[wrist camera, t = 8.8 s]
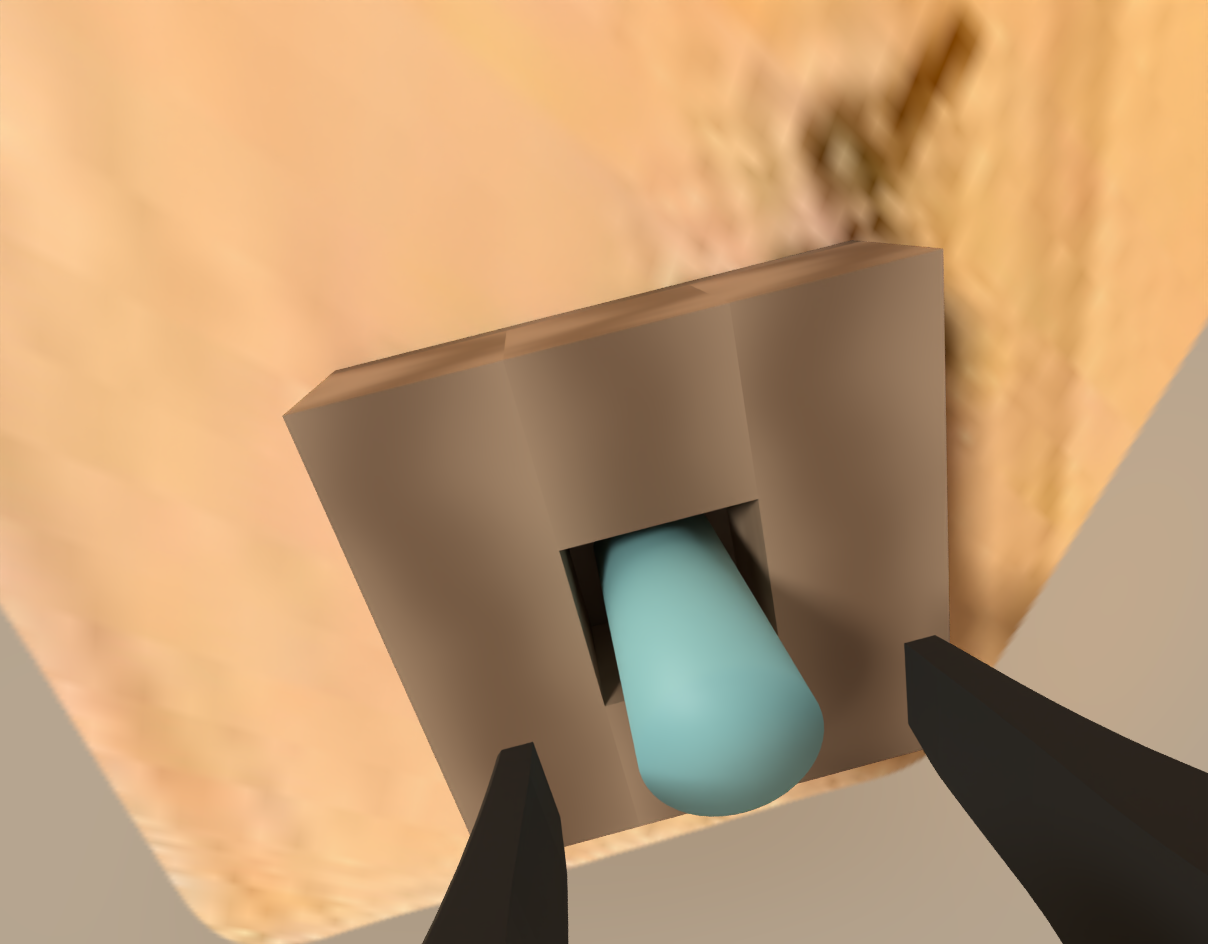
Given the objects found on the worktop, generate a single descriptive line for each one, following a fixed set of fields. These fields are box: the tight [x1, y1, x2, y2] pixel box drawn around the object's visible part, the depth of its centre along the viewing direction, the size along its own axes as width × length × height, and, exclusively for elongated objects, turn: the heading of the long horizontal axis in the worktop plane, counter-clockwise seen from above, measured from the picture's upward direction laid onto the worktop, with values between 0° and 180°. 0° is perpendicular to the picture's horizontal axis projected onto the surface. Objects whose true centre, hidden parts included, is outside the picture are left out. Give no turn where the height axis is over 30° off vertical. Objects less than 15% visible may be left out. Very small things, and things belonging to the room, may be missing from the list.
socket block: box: [283, 240, 950, 847], centre depth 18 cm, size 14×14×4 cm
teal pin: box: [593, 513, 824, 817], centre depth 16 cm, size 4×4×8 cm
